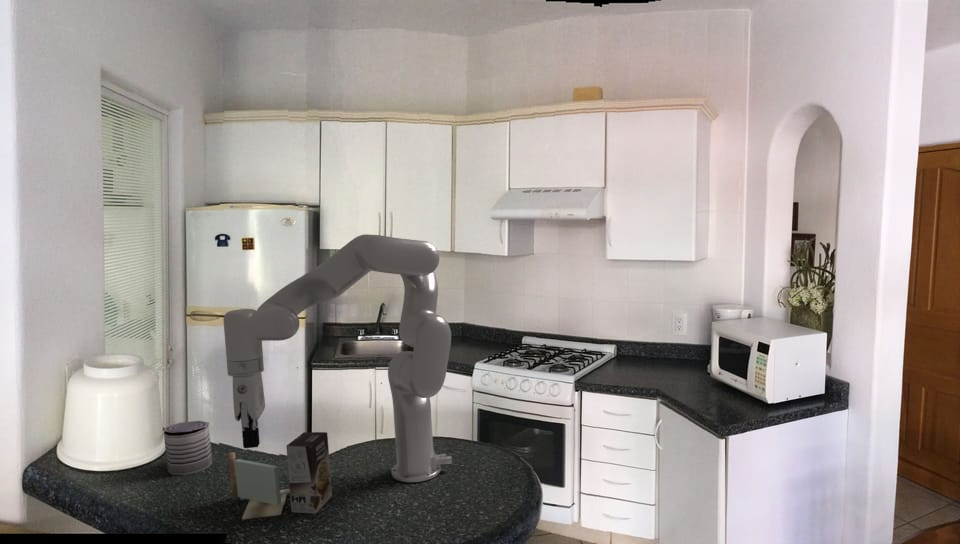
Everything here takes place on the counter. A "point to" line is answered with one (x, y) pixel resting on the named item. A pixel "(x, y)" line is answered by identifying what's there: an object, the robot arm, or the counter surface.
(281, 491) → the frame
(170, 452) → the can
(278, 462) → the counter surface
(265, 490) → the door
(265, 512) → the board
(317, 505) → the coffee box
